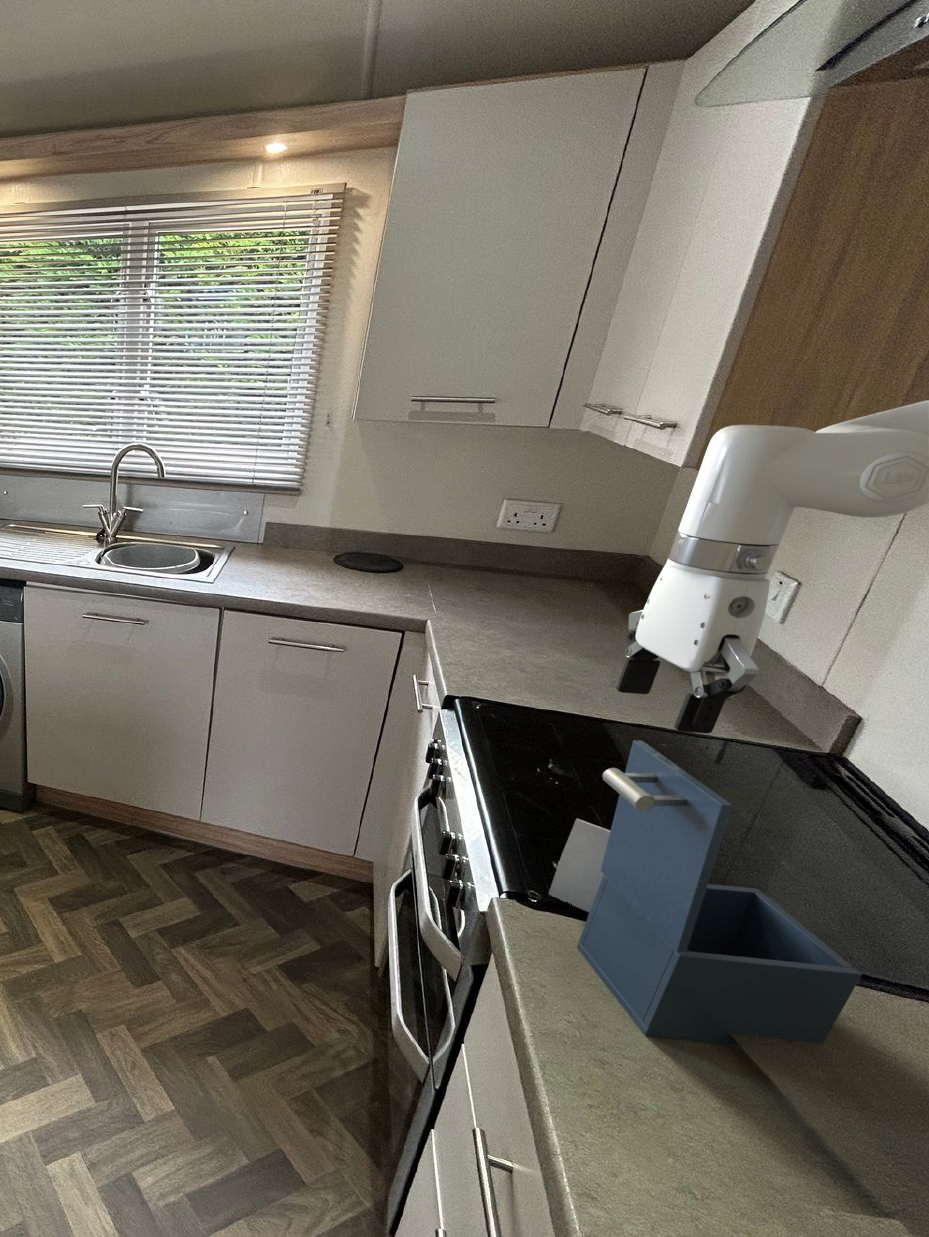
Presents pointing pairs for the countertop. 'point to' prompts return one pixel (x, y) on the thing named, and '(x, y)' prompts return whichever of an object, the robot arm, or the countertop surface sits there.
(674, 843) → the bin lid
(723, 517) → the robot arm
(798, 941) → the waste bin
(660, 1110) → the countertop surface
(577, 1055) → the countertop surface
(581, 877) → the grey rectangular block
